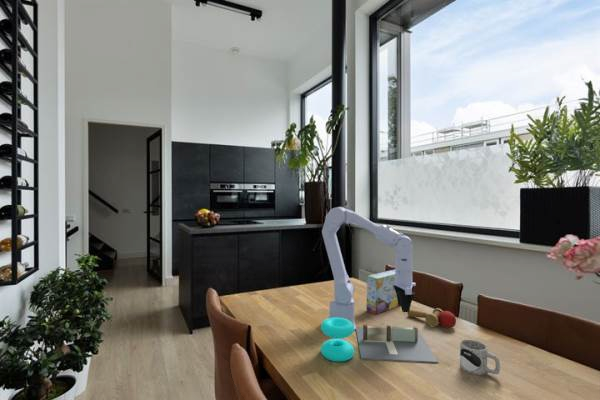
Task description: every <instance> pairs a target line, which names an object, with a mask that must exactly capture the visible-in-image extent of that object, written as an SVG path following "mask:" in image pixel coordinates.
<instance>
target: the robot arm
mask: <svg viewBox="0 0 600 400" xmlns="http://www.w3.org/2000/svg"><path fill="white" fill-rule="evenodd" d="M344 224H347V225H348V224H355V225H357V226H359V227H360V228H363V229H365V230H367V231H368V232H370V233H373V234H374V236H375V239H376V240H378V241H380V242H382V243H383V244H385V245H387V246H389V247H390V248H395V250H396V256H395V262H394V263H395V265H394V266H395V268H394V270H395V285H393V287H394V289H395V291H396V295H397V300H398V305H399V306H398V307H401V308H400V309H401V312H402V313H407V312H409V310H410V309H411V306H412V305H411V304H412V301H413V300H414V298H415V296H416V293H415V291H414V292H413V290H412V289H413V287H415V286H417V285H416V282H413V250H414V244H413V241H412V239H411V238H410V237H409V236H407V235H405V234H404V233H403V232H398V231H396V230H395V229H393V228H391V225H389V224H387V225H385V224H381V225H378V224H377V223H375V222H373V221H371V220H369V219H368V218H366V217H364V216H362V215H361V214H360V213H358V212H356V211H354V210H351V209H347V208H346V207H343V206H337V207H333V208H331V209H330V210H329V211H328V213H327V214H326V216H325V220H324V223H323V227H322V229H321V234H322V237H323V242H324V246H325V250H326V253H327V257H328V260H329V265H330V268H331V271H332V275H333V287H334V292H333V296H334V300H330V301H329V316H328V318H334V317H338V318H344V319H347V320H349V321H351V322H352V323H353V325H354V331H356V327H357V326H356V320H355V299H354V298H353V295H354V293H355V286H354V283H352V281H351V279H350V277H349V275H348V272H347V270H346V266H345V263H344V258H343V255H342V252H341V247H340V243H339V240H338V236H337V232H338V231H339V229H340V228H341V226H342V225H344Z"/></svg>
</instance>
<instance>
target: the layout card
mask: <svg viewBox="0 0 600 400" xmlns="http://www.w3.org/2000/svg"><path fill="white" fill-rule="evenodd" d="M355 332H356V337H357V342H358V343H357V344H358V347H359V348H358V349H359V353H360V354H359V355H360V359H361V360H366V361H367V360H369V361H370V360H371V361H387V362H388V361H389V362H391V361H392V362H411V363H425V364H427V363H428V364H439V360H438V359H437V357H436V355H435V353H434V352H433V351H432V349H431V348H430V346H429V345H428V343H427V342H426V339H425V338H424V337H423V335H422V333H421V332H420V330H419V329H418V342H411V341H392V328H391V341H390V342H389V341H369V340H363V326H362V327H360V326H356V330H355Z"/></svg>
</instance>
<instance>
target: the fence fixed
mask: <svg viewBox="0 0 600 400" xmlns="http://www.w3.org/2000/svg"><path fill="white" fill-rule="evenodd" d="M362 327H363V340H369V341H389V342H390V341H391V329H392V326H391V325H386V326H376V325H375V326H373V325H371V326H369V325H367V324H363V325H362Z"/></svg>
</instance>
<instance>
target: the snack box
mask: <svg viewBox="0 0 600 400" xmlns="http://www.w3.org/2000/svg"><path fill="white" fill-rule="evenodd" d="M366 277H367V278H366V310H365V311H366V312H369V313H371V314H374V315H378V314H380V313H383V312H386V311H390V310H391V309H395V308H397V307H400V306H399V305H398V300H397V295H396V291H395V289H394V287H393V285H395V269H390V270H386V271H383V272H379V273H374V274H369V275H367V276H366Z"/></svg>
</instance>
